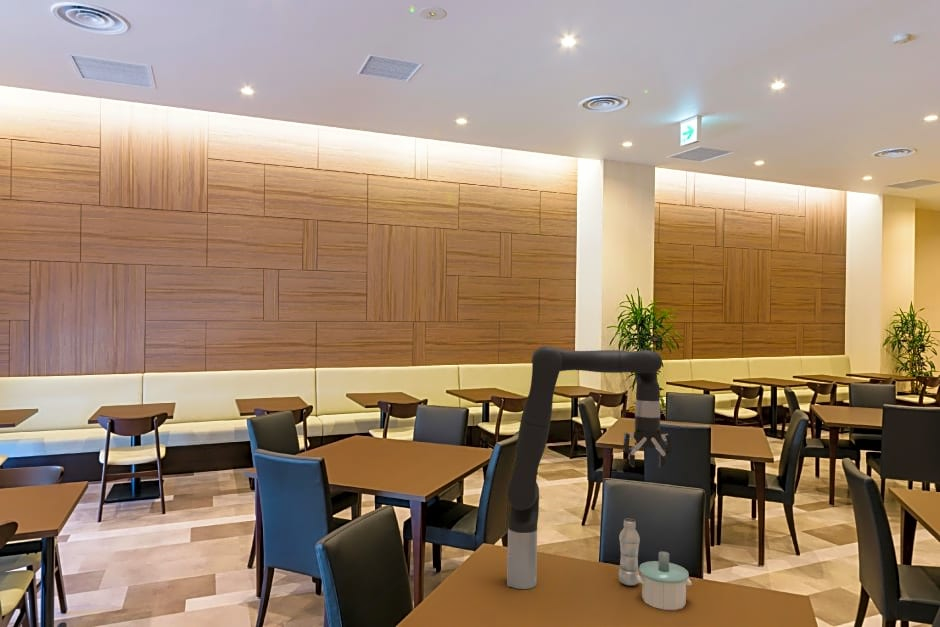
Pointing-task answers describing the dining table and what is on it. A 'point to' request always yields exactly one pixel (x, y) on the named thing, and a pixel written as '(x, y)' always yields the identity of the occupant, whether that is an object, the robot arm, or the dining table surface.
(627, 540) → the plastic bottle
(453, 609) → the dining table surface
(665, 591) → the pot
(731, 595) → the dining table surface
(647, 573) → the lid
